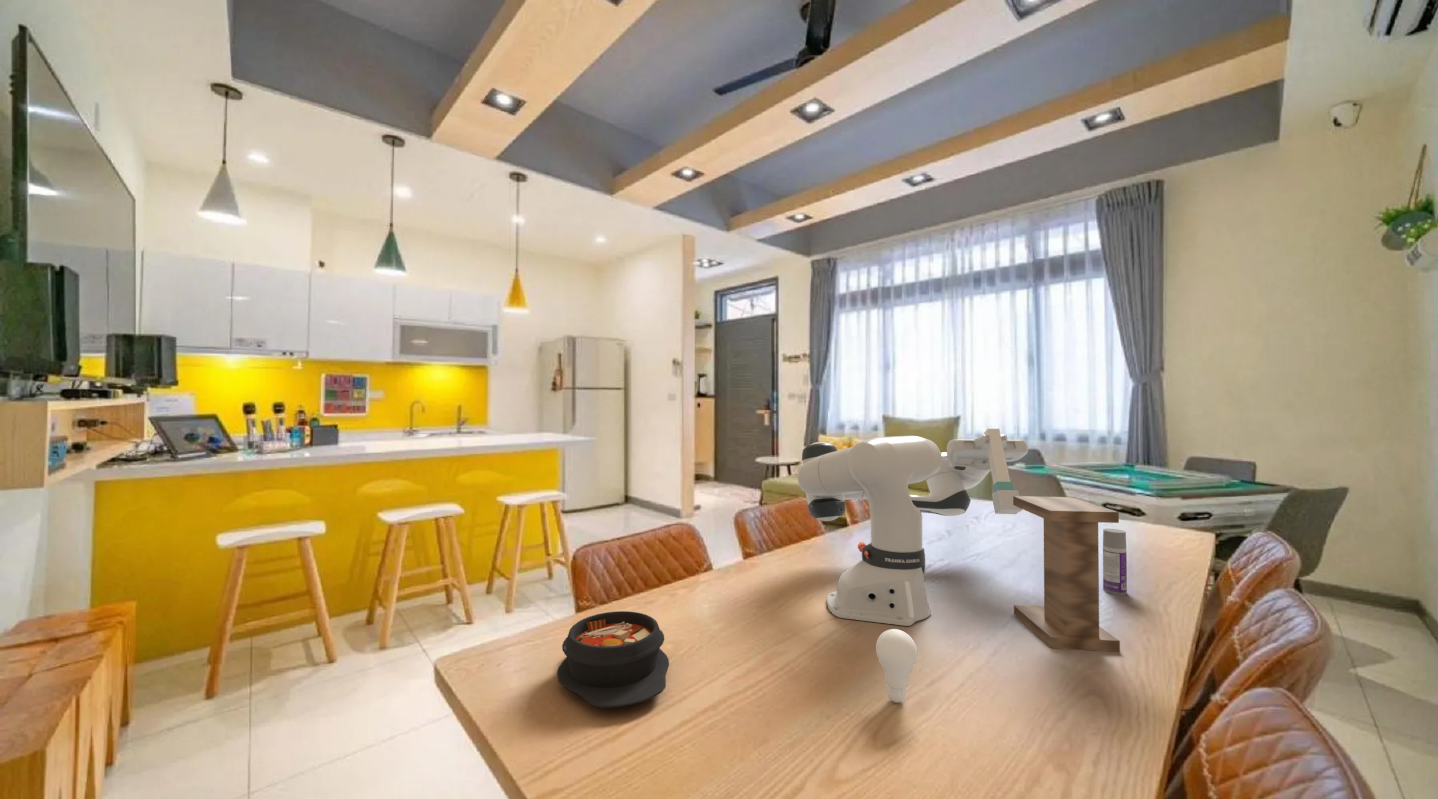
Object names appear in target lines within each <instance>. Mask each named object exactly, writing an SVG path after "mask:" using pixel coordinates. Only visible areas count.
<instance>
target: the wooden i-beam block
mask: <svg viewBox="0 0 1438 799" xmlns="http://www.w3.org/2000/svg"><path fill="white" fill-rule="evenodd" d="M1013 505H1014V506H1016V507H1019V508H1021V509H1022V511H1023V510H1024V511H1026V512H1028V513H1030V514H1033V515H1036V516H1037V517H1040V518H1042V519H1043V594H1044V596H1043V597H1044V598H1043V601H1044V602H1043V603H1044V606H1041V605H1039V606H1038V605H1037V606H1036V605H1019V604H1014V605H1013V615H1014V616H1015V617H1016V618H1017V619H1019V620H1020V621H1021V622H1022V623H1023V624H1024V626H1026V627H1028V629H1030V630H1031V632H1033V633H1034V634H1035V635H1036V636H1037V637H1038V638H1039V639H1040V640H1042V641H1043V642H1044V643H1045V644H1046V645H1047V646H1048V647H1050V648H1051V649H1061V650H1063V649H1065V650H1066V649H1067V650H1083V651H1085V650H1086V651H1102V652H1104V651H1105V652H1119V653H1120V652H1121V640H1119V639H1118V638H1116V636H1114V635H1112V634H1111V633H1109V632H1108V631H1106V630H1105V629H1104V628H1102V627H1101V626H1100V593H1099V592H1100V582H1099V580H1100V578H1099V577H1100V576H1099V575H1100V574H1099V573H1100V572H1099V571H1100V569H1099V568H1100V567H1099V565H1100V564H1099V561H1100V560H1099V556H1100V555H1099V551H1100V550H1099V523H1104V524H1106V523H1107V524H1108V523H1109V524H1110V523H1111V524H1112V523H1113V524H1119V522H1120V516H1119V515H1120V512H1119V511H1116V510H1113V509H1111V508H1107V507H1104V506H1101V505H1098V504H1095V503H1091V502H1088V501H1085V500H1082V499H1078V498H1075V497H1072V496H1067V497H1066V496H1031V495H1030V496H1028V495H1025V496H1023V495H1019V496H1013Z"/></svg>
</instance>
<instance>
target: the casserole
mask: <svg viewBox="0 0 1438 799" xmlns="http://www.w3.org/2000/svg"><path fill="white" fill-rule="evenodd" d="M664 642H665V634H664V632H663V631H662V629H660V626H659V623H658V621H657V620H656V619H654V618H653V617H652V616H649V615H648V614H645V613H642V612H636V611H629V610H628V611H625V610H624V611H623V610H622V611H621V610H619V611H617V610H616V611H608V612H602V613H597V614H593V615H590V616H587V617H585V618H582V619H581V620H579V621H577V622H576V623H574V625H572V627H571V628H570V629H569V631H568V634H567V636H566V638H565V639H564V641H563V643H562V646H561V648H562V652H563V654H564V655H565V656H566V657H565V658H564V660H562V661H561V662H562V663H561V664H559V666H558V669H557V672H556V676H557V680H558V682H559V684H560V685H561V686H563V687H564V688H565V689H567V690H568V691H571V692H572V693H574V694H577V695H578V696H580V697H581V698H582V699H583V700H584V701H585V702H587V703H588V704H589V705H591V706H594V707H596V708H607V709H608V708H622V707H627V706H634V705H637V704H639V703H644V702H646V701H648V700H650V699H654V698H655V697H657V696H659V695H660V694H661V693H663V692H664V690H665V689H666V686H667V685H666V683H667V679H666V677H667V676H666V675H667V673H668V669H669V667H670V659H669V658H668V656H667V654H666V653H665V652H664V651H663V650H662V649H661V647H662V645H663V644H664Z"/></svg>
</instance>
